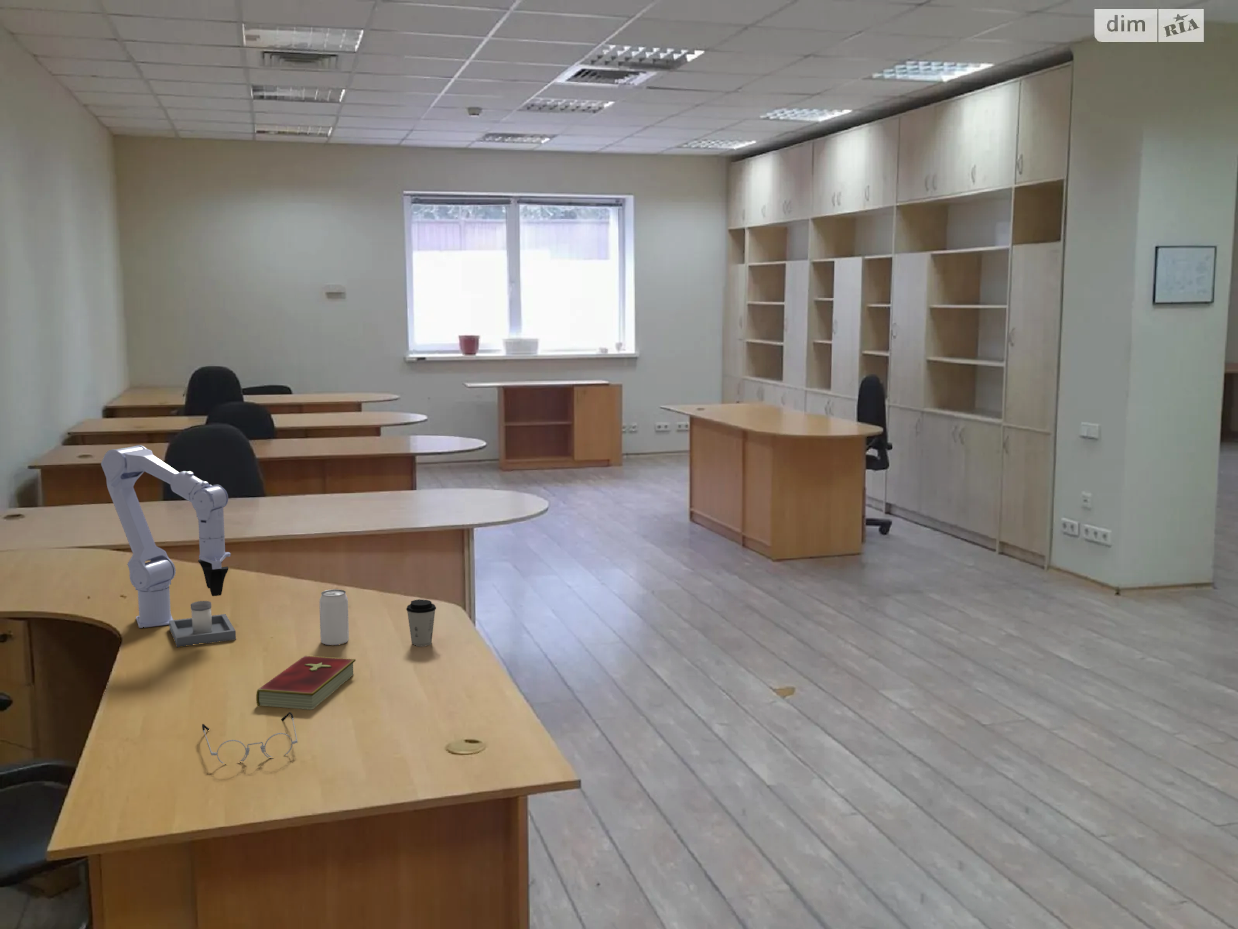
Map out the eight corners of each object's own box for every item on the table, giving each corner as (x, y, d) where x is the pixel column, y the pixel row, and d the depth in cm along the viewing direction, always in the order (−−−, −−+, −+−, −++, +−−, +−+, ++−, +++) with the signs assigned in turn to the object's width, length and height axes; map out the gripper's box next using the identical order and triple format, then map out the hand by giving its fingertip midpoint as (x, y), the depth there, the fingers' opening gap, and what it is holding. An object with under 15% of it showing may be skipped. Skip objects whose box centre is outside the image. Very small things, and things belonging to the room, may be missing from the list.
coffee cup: (442, 643, 255) (442, 602, 254) (418, 650, 250) (417, 608, 248) (424, 636, 260) (424, 596, 258) (400, 643, 255) (400, 602, 253)
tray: (169, 629, 262) (169, 620, 262) (225, 622, 268) (225, 614, 268) (176, 647, 249) (176, 638, 249) (235, 639, 255) (235, 630, 255)
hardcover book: (256, 708, 215) (255, 688, 214) (303, 672, 235) (303, 654, 235) (313, 712, 213) (312, 692, 212) (355, 676, 234) (355, 658, 233)
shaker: (190, 630, 260) (189, 602, 258) (210, 627, 262) (209, 599, 261) (194, 636, 256) (192, 607, 254) (214, 633, 258) (212, 604, 257)
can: (341, 647, 251) (340, 597, 249) (315, 645, 253) (314, 595, 251) (353, 638, 258) (352, 589, 256) (328, 636, 259) (327, 588, 257)
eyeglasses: (207, 772, 186) (206, 745, 185) (201, 732, 203) (200, 707, 202) (303, 758, 192) (302, 731, 192) (289, 720, 209) (288, 695, 208)
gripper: (233, 541, 254) (236, 597, 256) (225, 529, 267) (227, 582, 269) (202, 544, 251) (204, 600, 253) (194, 531, 263) (197, 585, 266)
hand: (214, 591), depth 261 cm, fingers open, 7 cm apart
